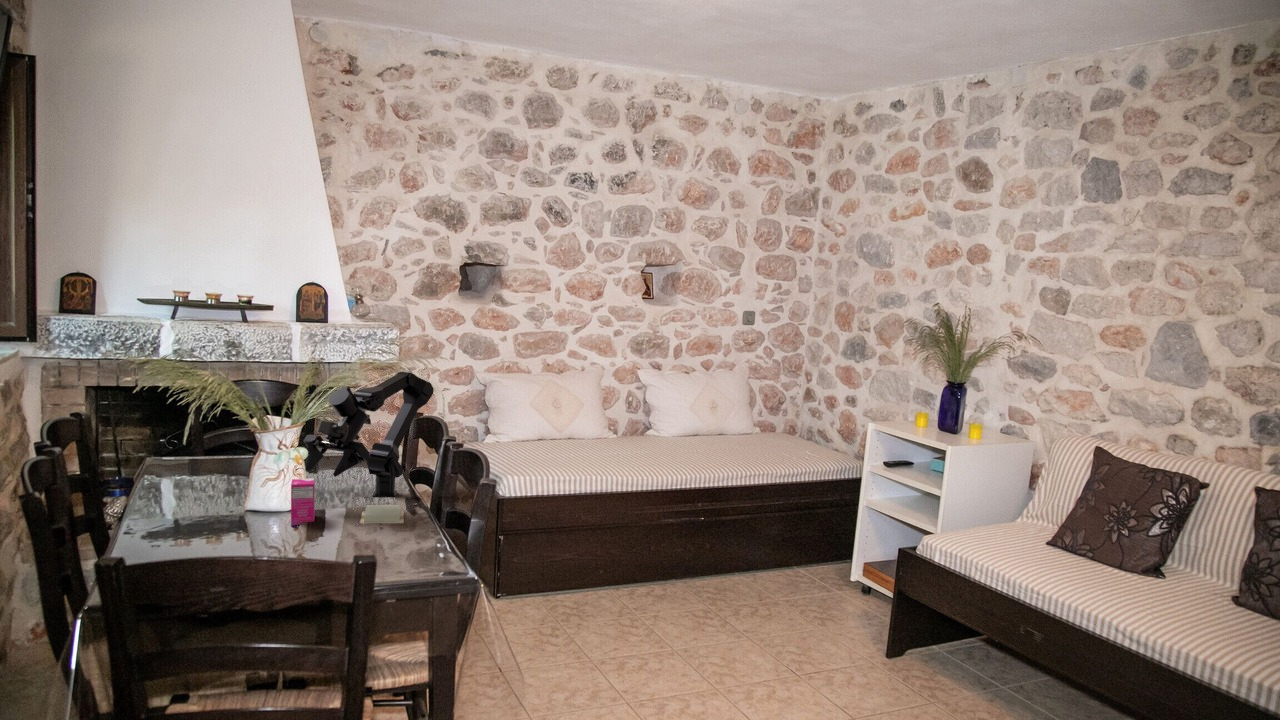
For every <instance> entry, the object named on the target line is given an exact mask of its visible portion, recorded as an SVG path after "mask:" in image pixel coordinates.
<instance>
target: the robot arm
mask: <svg viewBox="0 0 1280 720" xmlns="http://www.w3.org/2000/svg"><path fill="white" fill-rule="evenodd" d="M434 390H435V389H434V387H433V385H432V383H431V382H430V381H426V380H425V379H422V378H421V377H418V376H417V375H416V374H414V373H413V372H409V371H398V372H397V373H396V374H395V375H393V376H392V377H389V378H387V379H386V380H384V381H383V382H381V383H379V384H377V385H374V386H371V387H364V388H360V389H357V390H356V391H355V392H352V389H351V388H350V387H349V386H344V385H343V386H342V387H341V388H339V389H337V390H335V391H334V392H332V393H331V394H330V395H329V396H328V399H327V400H328V403H329V404H330V406H331V407H332V409H333V410H334V411H335V412H336V413H337V415H338V416H339V417H341V418H342V419H341V420H340V421H338V422H333V421H326V420H321V421H320V424H319V427H318V430H317V432H318V433H321V434H324V435H325V436H324V437H325V439H326V440H327V441H325V440H324V439H323V438H322V437H321V436H320V435H316V434H306V436H305V438H304V439H303V441H302V442H303V443H304V444H305V446H306V448H307V449H308V457H307V460H306V466H305V471H306V472H310V471H311V470H312V469H313V468H314V467H315V466H316V465H317V464H319V462H320V461H321V460H322V459H323V458H324V455H323V454H325V453H326V452H327V451H329V450H330V451H334V452H336V451H337V452H341V453H342V457H341V459H340V460H339V462H338V464H337V466H336V467H335V469H334V471H333V473H332V475H333V476H334V477H336V478H337V477H338V476H339V475H341V474H342V473H344V472H346V471H347V470H349V469H351V468H353V467H354V466H356V465H358V464H362V462H363V463H366V465H367V469H368V473H369V475H373V476H375V485H374V486H375V487H374V488H375V489H374V492H373V494H372V497H373V498H396V496H397V493H398V490H396V478H400V477H401V476H403V473H404V467H403V466H402V465H401V463H400V462H399V460H400V450H399V449H400V446H401V444H402V442H403V441H404V438H405V436H406V435H407V432H408V430H410V426H411V424H412V423H413V420H414V418H415V416H416V415H417V413H418V411H419V409H421V408H422V407H424V406H425V405H427V404H428V403H429V401H430V399H431V398H432V396H433V394H434ZM401 391H403V392H402V398H403V403H402V405H400V409H399V410H398V412H397V414H396V416H395V417H394V420H393V422H392V423H391V425H390V428H389V430H388V432H387V433H386V435H385V438H384V439H383V441H381V442H374V443H373V445H372V446H371V448H370V451H369V450H368V448H367V447H366V446H365V445H364V443H363V442H360V441H358V440H359V438H360V436H359V435H358V434H359V433H360V432H361V430H362V428H363V426H364V425H371V424H372V422H371V418H370V417H371V416H370V414H367V413H366V411H367V412H368V411H369V412H377V411H378V410H380V409H381V407H383V405H384V404H385V401H386V400H387V399H388V398H390V397H392V396H394V395H395V394H397V393H399V392H401Z"/></svg>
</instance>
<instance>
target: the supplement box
mask: <svg viewBox="0 0 1280 720" xmlns="http://www.w3.org/2000/svg"><path fill="white" fill-rule="evenodd" d="M315 483H316V482H315V478H314V477H313V478H311V477H310V478H296V479H295V478H293V479H291V484H290V525H291V526H290V527H292V528H296V527H297V526H299V527H300V526H301V524H302V523H311V522H315V516H316V514H315V512H316V509H315V508H316V507H315V502H316V501H315V497H316V496H315V493H316V492H315ZM297 528H298V527H297Z"/></svg>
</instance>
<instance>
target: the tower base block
mask: <svg viewBox="0 0 1280 720" xmlns="http://www.w3.org/2000/svg"><path fill="white" fill-rule="evenodd" d="M364 513H365V511H362V512H361V518H360V522H359V524H360V525H361V524H363V525H365V524H366V525H367V524H368V525H369V524H370V525H371V524H374V525H375V524H404V521H405V520H404V519H405V518H404V516H405V512H404V510H400V520H399V522H364Z"/></svg>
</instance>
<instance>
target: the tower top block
mask: <svg viewBox="0 0 1280 720" xmlns="http://www.w3.org/2000/svg"><path fill="white" fill-rule="evenodd" d="M400 511H401V504H378V505H377V504H370V505H368V504H367V505H365V513H364V522H399V520H400Z"/></svg>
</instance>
